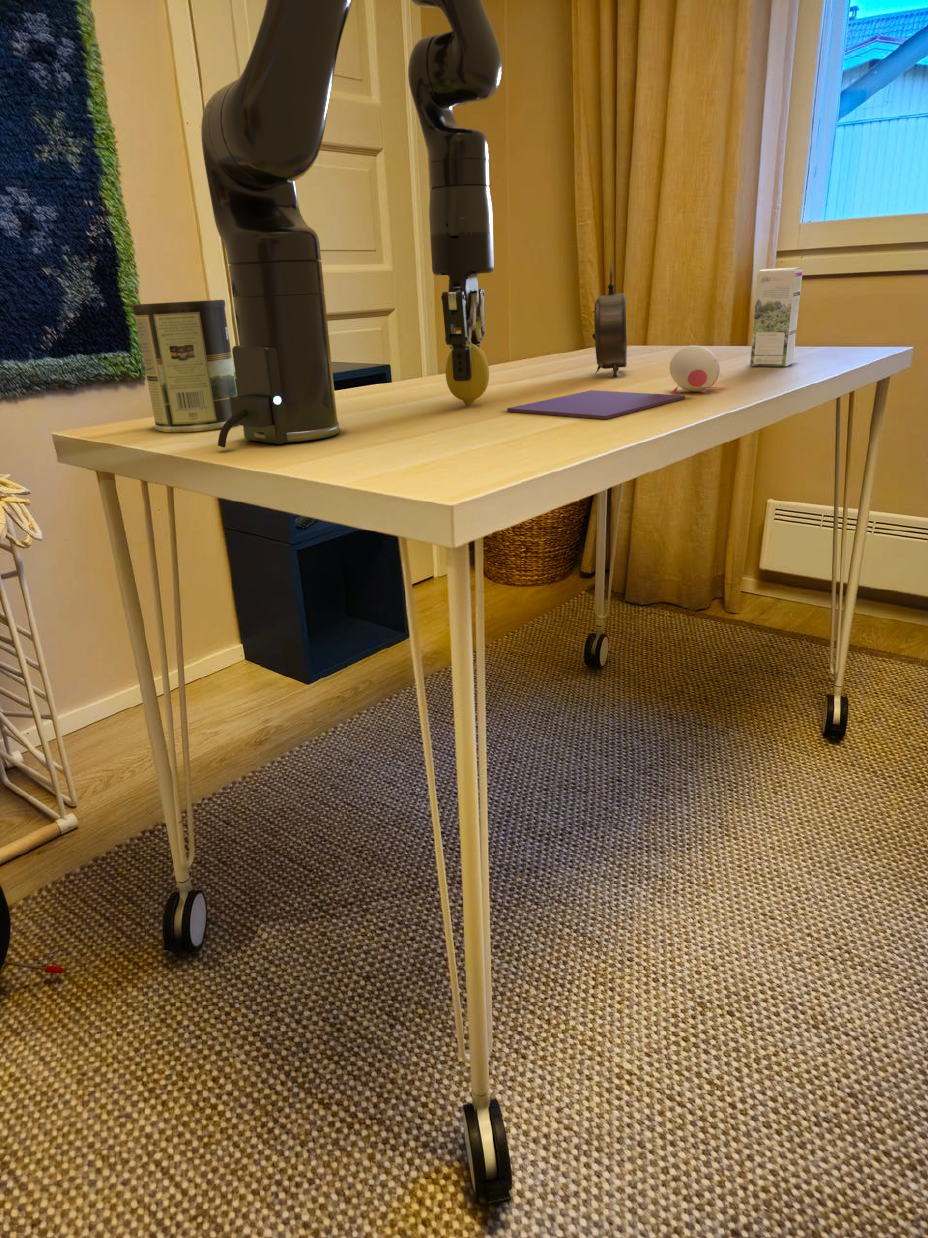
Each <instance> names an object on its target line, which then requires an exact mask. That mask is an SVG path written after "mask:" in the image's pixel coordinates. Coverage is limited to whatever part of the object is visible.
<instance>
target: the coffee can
mask: <svg viewBox="0 0 928 1238" xmlns="http://www.w3.org/2000/svg"><path fill="white" fill-rule="evenodd" d="M131 308H132V309H131V310H132V312H133V313H134V318H135V323H136V328H137V334H138V339H139V345H140V349H141V354H142V360H143V361H142V362H143V365H144V370H145V378H146V381H147V386H148V392H149V397H150V402H151V409H152V413H153V419H154V423H155V428H154V429H155V430H156V431H158V432H163V433H190V432H191V433H192V432H202V431H204V432H205V431H212V430H219V429H222V427H223V425H224V424H225V423H226V422H227V420H229V419H230V418H231V417H232V410H231V403H230V397H236V396H238V388H237V381H236V375H235V368H234V361H233V354H232V349H231V341H230V336H229V335H230V334H229V330H228V329H229V327H228V323H227V322H228V321H227V314H226V301H225V299H211V300H192V301H171V302H156V303H155V302H154V303H138V304H137V303H136V304H132V305H131Z"/></svg>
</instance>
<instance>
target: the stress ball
mask: <svg viewBox="0 0 928 1238" xmlns="http://www.w3.org/2000/svg"><path fill="white" fill-rule="evenodd" d="M669 363H670V364H669V373H670V376H671V379H672V380H673V382H674V383H675V384H676V385H677V386H676V388H674V389H673V390H672V393H673V394H676V393H677V391H678V390H677V389H678V388H679V387H680V388H681V389H683V390H685V391H687V392H695V393H696V392H703V391H706V390H707V389H718V388H721V386H713V385H715V383H716V382H717V380H718V378H719V375H720V363H719V360H718V358H717V357H716V355H715V354H714V353H713V352H712V351H711V350H709V349H708V348H706V347H705V346H701V345H687V346H684V347H682V348H680V349H678V351H676V352H675V353H674V355H673V356H672V358H671V360H670V362H669Z"/></svg>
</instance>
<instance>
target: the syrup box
mask: <svg viewBox="0 0 928 1238" xmlns="http://www.w3.org/2000/svg"><path fill="white" fill-rule="evenodd" d="M802 281H803V268H802V267H800V266H798V267H778V268H762V269H759V270H757V275H756V287H755V288H756V289H755V301H754V311H753V312H754V313H753V325H752V336H751V349H750V361H749V365H750V367H788V366H791V365H792V364H794V360H795V359H794V358H795V348H796V347H795V346H796V335H797V327H798V318H799V317H798V316H799V310H800V309H799V307H800V301H801V300H800V299H801V292H802V291H801V290H802Z"/></svg>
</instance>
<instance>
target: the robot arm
mask: <svg viewBox="0 0 928 1238" xmlns="http://www.w3.org/2000/svg"><path fill="white" fill-rule="evenodd" d="M352 3H353V0H266V2H265V7H264V10H263V14H262V19H261V22H260V25H259V28H258V31H257V34H256V38H255V41H254V44H253V47H252V49H251V52H250V55H249V57H248V60H247V61H246V64H245V67H244V69H243V71H242V73H241V75H240V76H239V78H237V79H235V80H234V81H232V82H230V83H228V84H226V85H225V86H223V87H221V88H220V89H219V90H217V91H216V92H215V93H213V94H212V96H211V97H210V98H209V99H208V101H207V102H206V104H205V106H204V110H203V112H202V116H201V117H202V118H201V124H200V125H201V127H200V129H201V130H200V131H201V132H200V134H201V136H200V137H201V147H202V148H201V149H202V155H203V163H204V168H205V174H206V180H207V185H208V186H207V187H208V192H209V196H210V202H211V207H212V213H213V220H214V223H215V227H216V231H217V233H218V235H219V237H220V240H221V242H222V243H223V246H224V249H225V252H226V259H227V265H228V272H229V278H230V286H231V292H232V300H233V308H234V314H235V323H236V329H237V336H238V343H239V344H238V345H234V346H233V347H232V349H231V354H232V361H233V368H234V375H235V382H236V389H237V396H236V397H230V403H231V410H232V417H231V418H230V419H229V420H227V422H226V423H225V424H224V425H223V427H222V428H220V429H221V430H220V432H219V434H218V440H217V446H218V447H220V448H226V445H227V439H228V434H229V433H230V431H231V429H232V428H233V427H234V426H242V430H243V436H244V440H249V441H254V442H255V441H256V442H262V443H269V444H275V445H279V444H285V443H286V444H287V443H294V442H295V443H296V442H306V441H314V440H320V439H325V438H329V437H333V436H335V435H337V434H339V433H340V423H339V421H338V414H337V403H336V393H335V386H334V385H335V384H334V383H335V382H334V374H333V363H332V354H331V353H332V352H331V344H330V343H331V342H330V333H329V325H328V323H329V322H328V316H327V315H328V314H327V305H326V294H325V284H324V275H323V273H324V272H323V265H322V253H321V245H320V240H319V235H318V233H317V232H316V231H315V230H314V229H313V228H312V227H310V226H309V225H308V224H307V222H306V221H305V219H304V217H303V216H302V213H301V211H300V204H299V201H298V194H297V193H298V192H297V187H296V186H297V185H296V181H297V180H299V179H301V178H302V177H303V176H305V175H306V174H307V173H308V171H310V169H311V168H312V167H313V165H314V164H315V162H316V160H317V158H318V156H319V153H320V151H321V147H322V144H323V139H324V134H325V129H326V123H327V119H328V111H329V105H330V98H331V94H332V87H333V81H334V75H335V70H336V69H335V68H336V64H337V59H338V53H339V48H340V44H341V40H342V36H343V33H344V30H345V26H346V23H347V20H348V18H349V17H348V16H349V13H350V10H351V7H352ZM411 3H412V4H413V5H415V6H416V7H419V8H423V9H438V10H440V11H441V12H442V14H443V15H444V17H445V18H446V20H447V21H448V24H449V26H450V29H451V30H448V31H445V32H440V33H436V34H431V35H427V36H424V37H423V38H420V40H418V41H417V42H416V43H415V45H414V46H413V48H412V50H411V53H410V55H409V59H408V67H407V78H408V84H409V89H410V93H411V94H410V95H411V98H412V101H413V104H414V107H415V110H416V113H417V117H418V120H419V124H420V129H421V132H422V135H423V140H424V142H425V147H426V150H427V156H428V157H427V161H428V163H427V164H428V179H429V182H428V183H429V202H428V203H429V204H428V205H429V206H428V208H429V209H428V220H429V233H430V234H429V235H430V237H429V239H430V255H431V256H430V257H431V272H432V273H433V275H435V276H447V277H448V278H449V279H448V291H442V293H441V297H440V299H441V303H442V313H443V314H442V316H443V325H444V336H445V338H444V342H445V344H446V345H447V346H448V347H449V349H450V350H451V351H452V362H453V378H454V380H455V381H469V380H470V379H471V378H472V369H471V349H467V348H471V343H472V344H474V345H476V346H478V347H479V348H480V349H481V345H482V342H483V339H484V338H485V335H486V331H485V296H486V294H485V293H486V292H485V289H484V288H479V281H478V275H480V274H491V273H492V272H493V271H494V270H495V260H494V259H495V254H494V253H495V252H494V219H493V204H492V198H491V189H490V167H489V166H490V158H489V155H490V154H489V144H488V143H489V142H488V139H487V137H486V135H485V134H484V132H483V131H481V130H478V129H475V128H470V127H461V126H459V125H458V122H457V120H456V117H455V114H454V107H459V106H464V105H465V106H466V105H471V104H477V103H482V102H486V101H487V100H489V99H490V98H492V97H493V96H494V95H495V94H496V92H497V90H498V88H499V86H500V82H501V78H502V73H503V72H502V70H503V61H502V60H503V59H502V53H501V49H500V45H499V42H498V39H497V36H496V33H495V30H494V27H493V26H492V23H491V20H490V18H489V15H488V13H487V11H486V8H485V6H484V2H483V0H411ZM458 331H459V332H460V333H457V332H458Z"/></svg>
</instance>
